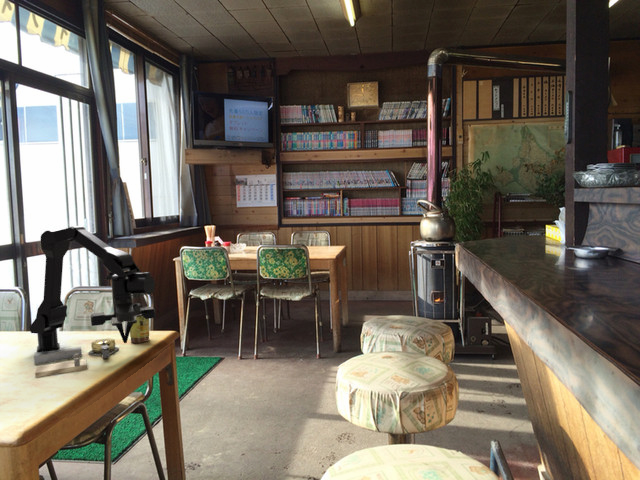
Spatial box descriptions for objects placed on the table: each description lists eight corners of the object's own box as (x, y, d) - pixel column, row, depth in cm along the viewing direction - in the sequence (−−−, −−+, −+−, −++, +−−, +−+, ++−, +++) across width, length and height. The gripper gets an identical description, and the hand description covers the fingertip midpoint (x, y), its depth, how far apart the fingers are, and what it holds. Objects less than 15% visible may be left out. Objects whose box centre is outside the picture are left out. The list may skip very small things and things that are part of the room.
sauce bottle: (143, 344, 167) (139, 285, 165) (126, 343, 168) (123, 285, 167) (153, 338, 173) (150, 282, 172) (137, 338, 175) (134, 282, 173)
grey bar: (34, 364, 149) (33, 356, 148) (35, 361, 152) (34, 353, 152) (81, 357, 155) (81, 349, 154) (81, 354, 158) (80, 346, 158)
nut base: (87, 350, 162) (87, 349, 162) (117, 345, 166) (117, 345, 166) (89, 357, 154) (89, 356, 154) (120, 352, 158) (120, 351, 158)
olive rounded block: (91, 348, 161) (90, 339, 161) (114, 345, 165) (113, 336, 164) (93, 360, 149) (92, 350, 149) (118, 356, 153) (117, 346, 152)
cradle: (35, 377, 137) (34, 366, 137) (36, 370, 143) (35, 359, 143) (87, 368, 143) (86, 358, 143) (86, 362, 149) (85, 352, 149)
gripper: (90, 301, 144) (94, 354, 145) (157, 294, 152) (160, 344, 153) (88, 295, 153) (92, 345, 155) (151, 289, 162) (154, 336, 163)
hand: (125, 342), depth 156 cm, fingers closed
